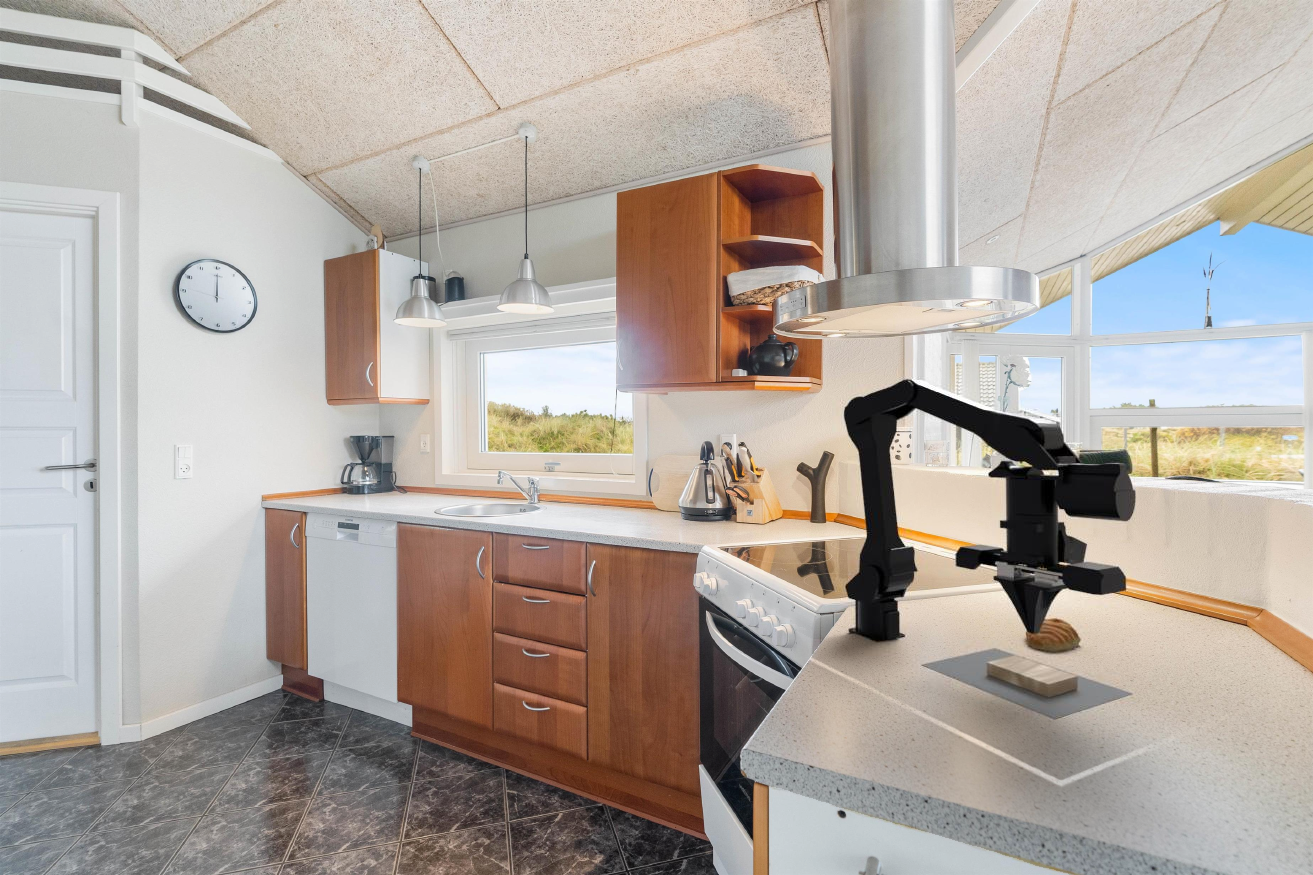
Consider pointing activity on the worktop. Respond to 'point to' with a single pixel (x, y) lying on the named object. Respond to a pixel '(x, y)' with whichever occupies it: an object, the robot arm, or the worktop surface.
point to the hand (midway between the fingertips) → (1033, 633)
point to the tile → (1032, 676)
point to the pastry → (1054, 636)
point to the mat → (975, 674)
